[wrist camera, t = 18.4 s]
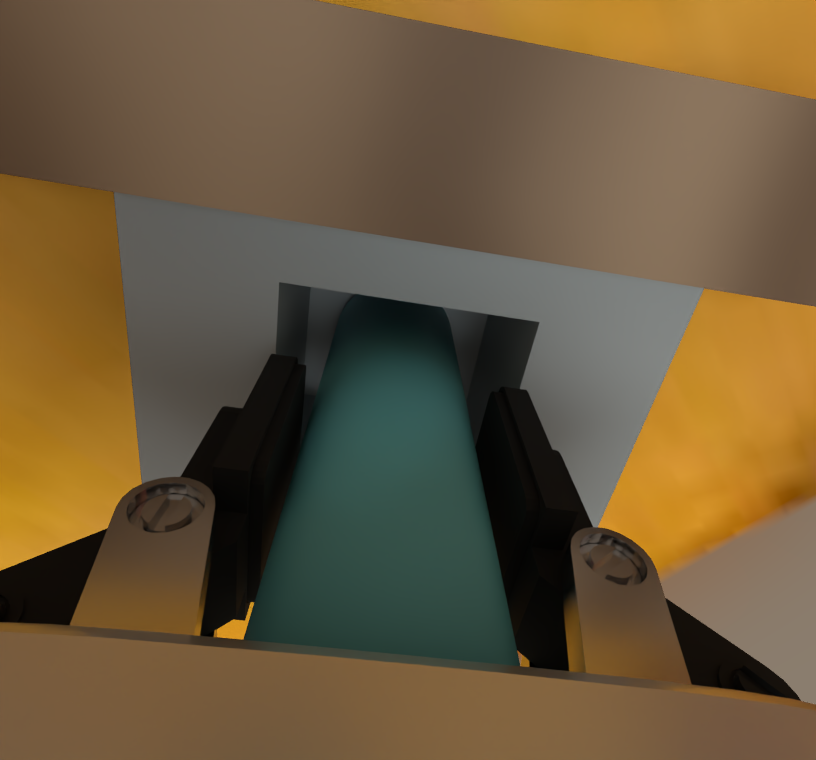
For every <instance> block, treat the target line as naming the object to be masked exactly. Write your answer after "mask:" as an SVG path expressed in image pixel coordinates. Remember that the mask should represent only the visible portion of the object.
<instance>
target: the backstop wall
mask: <svg viewBox="0 0 816 760" xmlns="http://www.w3.org/2000/svg"><path fill="white" fill-rule="evenodd" d="M0 173H1V174H7V175H13V176H20V177H26V178H32V179H38V180H44V181H50V182H56V183H62V184H68V185H75V186H81V187H87V188H93V189H99V190H105V191H111V192H117V193H124V194H130V195H136V196H142V197H148V198H154V199H160V200H166V201H173V202H179V203H185V204H191V205H197V206H203V207H209V208H215V209H222V210H228V211H234V212H240V213H246V214H252V215H258V216H264V217H271V218H277V219H283V220H289V221H295V222H301V223H307V224H313V225H319V226H326V227H332V228H338V229H344V230H350V231H356V232H362V233H368V234H375V235H381V236H387V237H393V238H399V239H405V240H411V241H417V242H424V243H430V244H436V245H442V246H448V247H454V248H460V249H466V250H473V251H479V252H485V253H491V254H497V255H503V256H509V257H515V258H522V259H528V260H534V261H540V262H546V263H552V264H558V265H564V266H570V267H577V268H583V269H589V270H595V271H601V272H607V273H613V274H619V275H626V276H632V277H638V278H644V279H650V280H656V281H662V282H668V283H675V284H681V285H687V286H693V287H699V288H705V289H711V290H717V291H724V292H730V293H736V294H742V295H748V296H754V297H760V298H766V299H773V300H779V301H785V302H791V303H797V304H803V305H809V306H815V307H816V100H815V99H810V98H805V97H800V96H795V95H790V94H785V93H780V92H775V91H770V90H764V89H759V88H754V87H749V86H744V85H739V84H734V83H729V82H724V81H719V80H714V79H709V78H704V77H699V76H694V75H689V74H684V73H679V72H674V71H669V70H664V69H659V68H654V67H648V66H643V65H638V64H633V63H628V62H623V61H618V60H613V59H608V58H603V57H598V56H593V55H588V54H583V53H578V52H573V51H568V50H563V49H558V48H553V47H548V46H543V45H538V44H533V43H527V42H522V41H517V40H512V39H507V38H502V37H497V36H492V35H487V34H482V33H477V32H472V31H467V30H462V29H457V28H452V27H447V26H442V25H437V24H432V23H427V22H422V21H417V20H412V19H406V18H401V17H396V16H391V15H386V14H381V13H376V12H371V11H366V10H361V9H356V8H351V7H346V6H341V5H336V4H331V3H326V2H321V1H316V0H0Z"/></svg>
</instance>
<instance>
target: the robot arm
mask: <svg viewBox="0 0 816 760" xmlns="http://www.w3.org/2000/svg"><path fill="white" fill-rule="evenodd" d="M305 380H306V365H302V364H298V358H297V357H292V356H285V355H278V354H271V355H270V357H269V359H268V361H267V363H266V365H265V366H264V368H263V370H262V372H261V374H260V376H259V378H258V380H257V382H256V384H255V386H254V388H253V390H252V391H251V393H250V395H249V397H248V399H247V401H246V403H245V405H244V407H243V408H236V407H228V406H224V407H222V408H221V409H220V411H219V412H218V414H217V416H216V417H215V419H214V421H213V422H212V424H211V426H210V427H209V429H208V431H207V433H206V434H205V436H204V438H203V439H202V441H201V443H200V444H199V446H198V448H197V449H196V451H195V453H194V455H193V456H192V458H191V460H190V461H189V463H188V465H187V466H186V468H185V470H184V471H183V473H182V475H181V476H180V477H166V478H159V479H155V480H151V481H148V482H145V483H143V484H141V485H139V486H137V487H135V488H133V489H132V490H130V491H129V492H128V493H127V494H126V495H124V496H123V497H122V499H121V500H120V502H119V503H118V505H117V506H116V509H115V511H114V514H113V516H112V519H111V521H110V524H109V526H108V528H107V529H105V530H102V531H100V532H97V533H95V534H92V535H90V536H87V537H85V538H82V539H80V540H77V541H75V542H72V543H70V544H67V545H64V546H62V547H59V548H57V549H54V550H52V551H49V552H47V553H44V554H42V555H39V556H37V557H34V558H32V559H29V560H27V561H24V562H22V563H19V564H17V565H14V566H11V567H9V568H6V569H4V570H1V571H0V760H816V704H812V703H808V702H804V701H801V700H800V699H799V697H798V695H797V694H796V693H795V692H794V691H793V690H792V689H791V688H790V687H789V686H788V684H787V683H786V682H785V681H784V680H783V679H781V678H780V677H779V676H777V675H776V674H775V673H774V672H772V671H771V670H770V669H769V668H767V667H766V666H765V665H763V664H762V663H760V662H759V661H757V660H756V659H754V658H753V657H751V656H750V655H748V654H747V653H745V652H744V651H743V650H741V649H740V648H738V647H737V646H735V645H734V644H732V643H731V642H729V641H728V640H726V639H725V638H723V637H722V636H720V635H719V634H718V633H716V632H715V631H713V630H712V629H710V628H709V627H707V626H706V625H704V624H703V623H701V622H700V621H698V620H697V619H696V618H694V617H693V616H691V615H690V614H688V613H686V612H685V611H684V610H682V609H681V608H679V607H678V606H676V605H675V604H673V603H672V602H671V601H669V600H668V599H666V598H665V596H664V593H663V590H662V586H661V583H660V580H659V577H658V573H657V570H656V568H655V566H654V564H653V562H652V560H651V558H650V557H649V556H648V555H647V553H646V552H645V551H644V550H643V549H642V548H641V547H640V546H638V545H637V544H636V543H635V542H633V541H632V540H631V539H629V538H627V537H625V536H623V535H622V534H620V533H617V532H614V531H612V530H609V529H605V528H598V527H593V526H592V523H591V521H590V519H589V517H588V514H587V512H586V510H585V507H584V505H583V503H582V501H581V498H580V496H579V494H578V492H577V489H576V487H575V485H574V483H573V480H572V478H571V476H570V474H569V471H568V469H567V467H566V465H565V462H564V460H563V458H562V456H561V454H560V453H559V451H557V450H552V447H551V445H550V443H549V440H548V438H547V435H546V433H545V431H544V428H543V426H542V424H541V421H540V419H539V417H538V414H537V412H536V410H535V407H534V405H533V402H532V400H531V398H530V395H529V393H528V391H527V390H524V389H517V388H510V387H503V386H502V387H501V388H500V389H499V391H498V392H494V391H492V392H491V393H490V396H489V399H488V403H487V406H486V410H485V414H484V417H483V421H482V425H481V428H480V432H479V435H478V439H477V443H476V446H475V448H476V453H477V458H478V463H479V467H480V472H481V477H482V482H483V487H484V492H485V497H486V502H487V506H488V511H489V516H490V521H491V526H492V531H493V536H494V541H495V546H496V550H497V555H498V560H499V565H500V570H501V575H502V580H503V585H504V589H505V594H506V599H507V604H508V609H509V614H510V619H511V624H512V629H513V633H514V638H515V643H516V648H517V650H518V651H519V652H520V653H521V654H522V660H521V666H513V665H503V664H493V663H482V662H472V661H462V660H452V659H441V658H431V657H421V656H411V655H400V654H390V653H379V652H369V651H359V650H348V649H338V648H327V647H317V646H306V645H295V644H284V643H273V642H262V641H251V640H240V639H229V638H218V637H217V629H218V628H220V627H221V626H223V625H225V624H226V623H228V622H230V621H231V620H233V619H235V620H245V618H246V615H247V612H248V609H249V605H250V602H255V599H256V596H257V593H258V589H259V586H260V582H261V579H262V576H263V572H264V569H265V566H266V562H267V559H268V556H269V552H270V549H271V545H272V542H273V539H274V535H275V532H276V529H277V525H278V522H279V519H280V515H281V512H282V508H283V505H284V502H285V498H286V495H287V492H288V488H289V485H290V481H291V478H292V475H293V471H294V468H295V465H296V461H297V458H298V455H299V451H300V442H301V429H302V417H303V404H304V392H305Z"/></svg>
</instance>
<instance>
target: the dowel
mask: <svg viewBox="0 0 816 760" xmlns="http://www.w3.org/2000/svg"><path fill="white" fill-rule="evenodd" d="M244 640H251V641H262V642H273V643H284V644H295V645H306V646H317V647H327V648H338V649H348V650H359V651H369V652H379V653H390V654H400V655H411V656H421V657H431V658H441V659H452V660H462V661H472V662H482V663H493V664H503V665H513V666H520V663H519V658H518V653H517V648H516V643H515V638H514V633H513V629H512V624H511V619H510V614H509V609H508V604H507V599H506V594H505V589H504V585H503V580H502V575H501V570H500V565H499V560H498V555H497V550H496V546H495V541H494V536H493V531H492V526H491V521H490V516H489V511H488V506H487V502H486V497H485V492H484V487H483V482H482V477H481V472H480V467H479V463H478V458H477V453H476V448H475V443H474V438H473V433H472V428H471V423H470V419H469V414H468V409H467V404H466V399H465V394H464V389H463V384H462V379H461V375H460V370H459V365H458V360H457V355H456V350H455V345H454V340H453V336H452V331H451V326H450V322H449V319H448V316H447V314H446V312H445V310H444V309H443V307H438V306H432V305H425V304H419V303H412V302H406V301H399V300H392V299H386V298H379V297H373V296H366V295H360V294H356V295H355V296H354V297H353V298H352V299H351V300H350V301H349V302H348V303H347V305H346V306H345V307H344V309H343V311H342V313H341V315H340V317H339V320H338V323H337V327H336V330H335V333H334V337H333V340H332V343H331V347H330V350H329V353H328V357H327V360H326V364H325V367H324V370H323V374H322V377H321V380H320V384H319V387H318V391H317V394H316V397H315V401H314V404H313V407H312V411H311V414H310V417H309V421H308V424H307V428H306V431H305V434H304V438H303V441H302V444H301V448H300V451H299V455H298V458H297V461H296V465H295V468H294V471H293V475H292V478H291V481H290V485H289V488H288V492H287V495H286V498H285V502H284V505H283V508H282V512H281V515H280V519H279V522H278V525H277V529H276V532H275V535H274V539H273V542H272V545H271V549H270V552H269V556H268V559H267V562H266V566H265V569H264V572H263V576H262V579H261V582H260V586H259V589H258V593H257V596H256V599H255V603H254V606H253V609H252V613H251V616H250V620H249V623H248V626H247V630H246V633H245V636H244Z"/></svg>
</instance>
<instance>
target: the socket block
mask: <svg viewBox="0 0 816 760" xmlns="http://www.w3.org/2000/svg"><path fill="white" fill-rule="evenodd" d="M114 199H115V210H116V220H117V230H118V241H119V251H120V262H121V272H122V282H123V293H124V303H125V313H126V324H127V334H128V344H129V355H130V365H131V375H132V386H133V396H134V406H135V417H136V427H137V437H138V448H139V458H140V468H141V479H142V484H143V483H145V482H148V481H151V480H155V479H159V478H166V477H180V476H181V475H182V473H183V471H184V470H185V468H186V466H187V465H188V463H189V461H190V460H191V458H192V456H193V455H194V453H195V451H196V449H197V448H198V446H199V444H200V443H201V441H202V439H203V438H204V436H205V434H206V433H207V431H208V429H209V427H210V426H211V424H212V422H213V421H214V419H215V417H216V416H217V414H218V412H219V411H220V409H221V408H222V407H224V406H228V407H236V408H243V407H244V405H245V403H246V401H247V399H248V397H249V395H250V393H251V391H252V390H253V388H254V386H255V384H256V382H257V380H258V378H259V376H260V374H261V372H262V370H263V368H264V366H265V365H266V363H267V361H268V359H269V357H270V355H271V354H278V355H285V356H292V357H297V358H298V364H302V365H306V380H305V392H304V404H303V417H302V429H301V442H300V448H301V444H302V441H303V438H304V434H305V431H306V428H307V424H308V421H309V417H310V414H311V411H312V407H313V404H314V401H315V397H316V394H317V391H318V387H319V384H320V380H321V377H322V374H323V370H324V367H325V364H326V360H327V357H328V353H329V350H330V347H331V343H332V340H333V337H334V333H335V330H336V327H337V323H338V320H339V317H340V315H341V313H342V311H343V309H344V307H345V306H346V305H347V303H348V302H349V301H350V300H351V299H352V298H353V297H354V296H355V295H356V294H360V295H366V296H373V297H379V298H386V299H392V300H399V301H406V302H412V303H419V304H425V305H432V306H438V307H443V309H444V310H445V312H446V314H447V316H448V319H449V322H450V326H451V331H452V336H453V340H454V345H455V350H456V355H457V360H458V365H459V370H460V375H461V379H462V384H463V389H464V394H465V399H466V404H467V409H468V414H469V419H470V423H471V428H472V433H473V438H474V443H475V446H476V443H477V439H478V435H479V432H480V428H481V425H482V421H483V417H484V414H485V410H486V406H487V403H488V399H489V396H490V393H491V392H492V391H494V392H498V391H499V389H500V388H501V387H502V386H503V387H510V388H517V389H524V390H527V391H528V393H529V395H530V398H531V400H532V402H533V405H534V407H535V410H536V412H537V414H538V417H539V419H540V421H541V424H542V426H543V428H544V431H545V433H546V435H547V438H548V440H549V443H550V445H551V447H552V450H557V451H559V453H560V454H561V456H562V458H563V460H564V462H565V465H566V467H567V469H568V471H569V474H570V476H571V478H572V480H573V483H574V485H575V487H576V489H577V492H578V494H579V496H580V498H581V501H582V503H583V505H584V507H585V510H586V512H587V514H588V517H589V519H590V521H591V523H592V526H593V527H598V525H599V523H600V520H601V518H602V516H603V514H604V511H605V509H606V507H607V505H608V502H609V500H610V498H611V496H612V494H613V491H614V489H615V487H616V485H617V482H618V480H619V478H620V476H621V473H622V471H623V469H624V467H625V464H626V462H627V460H628V458H629V455H630V453H631V451H632V449H633V446H634V444H635V442H636V440H637V437H638V435H639V433H640V431H641V429H642V426H643V424H644V422H645V420H646V417H647V415H648V413H649V411H650V408H651V406H652V404H653V402H654V399H655V397H656V395H657V393H658V390H659V388H660V386H661V384H662V381H663V379H664V377H665V375H666V373H667V370H668V368H669V366H670V364H671V361H672V359H673V357H674V355H675V352H676V350H677V348H678V346H679V343H680V341H681V339H682V337H683V334H684V332H685V330H686V328H687V325H688V323H689V321H690V319H691V316H692V314H693V312H694V310H695V308H696V305H697V303H698V301H699V299H700V296H701V294H702V292H703V290H704V288H699V287H693V286H687V285H681V284H675V283H668V282H662V281H656V280H650V279H644V278H638V277H632V276H626V275H619V274H613V273H607V272H601V271H595V270H589V269H583V268H577V267H570V266H564V265H558V264H552V263H546V262H540V261H534V260H528V259H522V258H515V257H509V256H503V255H497V254H491V253H485V252H479V251H473V250H466V249H460V248H454V247H448V246H442V245H436V244H430V243H424V242H417V241H411V240H405V239H399V238H393V237H387V236H381V235H375V234H368V233H362V232H356V231H350V230H344V229H338V228H332V227H326V226H319V225H313V224H307V223H301V222H295V221H289V220H283V219H277V218H271V217H264V216H258V215H252V214H246V213H240V212H234V211H228V210H222V209H215V208H209V207H203V206H197V205H191V204H185V203H179V202H173V201H166V200H160V199H154V198H148V197H142V196H136V195H130V194H124V193H117V192H114Z"/></svg>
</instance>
